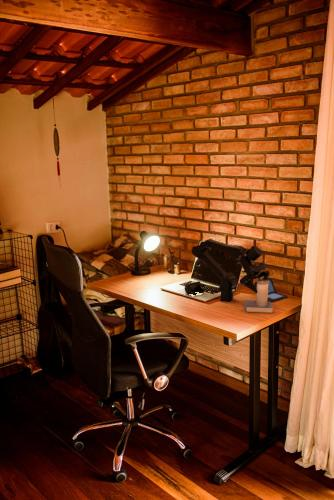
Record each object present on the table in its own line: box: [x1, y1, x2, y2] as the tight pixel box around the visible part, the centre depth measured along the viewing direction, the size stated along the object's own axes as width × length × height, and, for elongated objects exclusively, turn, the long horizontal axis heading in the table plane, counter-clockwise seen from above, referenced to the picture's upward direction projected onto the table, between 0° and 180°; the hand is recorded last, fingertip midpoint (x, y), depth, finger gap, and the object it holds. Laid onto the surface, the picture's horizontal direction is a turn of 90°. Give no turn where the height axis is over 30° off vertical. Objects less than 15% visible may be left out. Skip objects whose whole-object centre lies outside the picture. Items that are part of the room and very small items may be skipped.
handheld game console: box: [253, 277, 288, 303], centre depth 268 cm, size 16×13×9 cm
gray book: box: [243, 299, 274, 314], centre depth 249 cm, size 14×10×3 cm
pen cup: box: [255, 279, 269, 307], centre depth 246 cm, size 6×6×13 cm
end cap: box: [184, 281, 206, 295], centre depth 273 cm, size 10×7×7 cm
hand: (263, 291), depth 245 cm, fingers open, 9 cm apart
